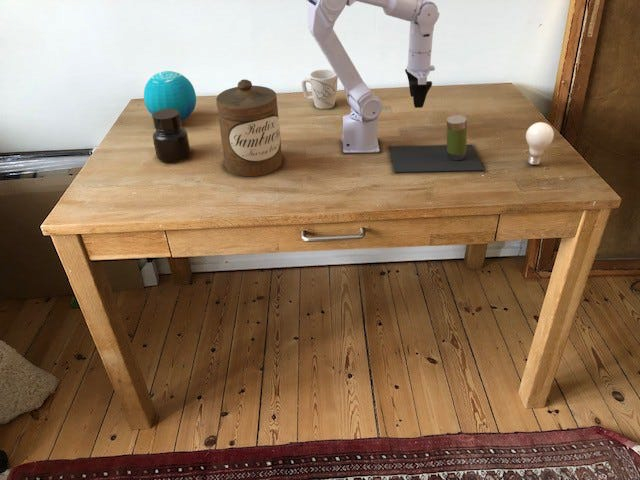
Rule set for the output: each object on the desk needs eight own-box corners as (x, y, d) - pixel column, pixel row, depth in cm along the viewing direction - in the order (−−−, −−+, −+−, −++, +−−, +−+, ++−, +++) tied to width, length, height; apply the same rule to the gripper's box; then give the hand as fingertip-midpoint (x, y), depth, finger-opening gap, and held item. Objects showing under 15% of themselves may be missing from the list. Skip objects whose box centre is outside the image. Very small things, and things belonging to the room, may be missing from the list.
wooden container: (240, 182, 134) (228, 96, 121) (216, 159, 144) (203, 77, 131) (292, 166, 140) (287, 82, 127) (266, 145, 150) (258, 65, 137)
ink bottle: (180, 145, 152) (172, 103, 145) (198, 154, 147) (191, 112, 140) (149, 157, 147) (139, 114, 140) (167, 167, 141) (158, 124, 134)
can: (448, 161, 139) (448, 124, 133) (445, 152, 143) (444, 116, 137) (468, 159, 138) (468, 121, 132) (464, 150, 142) (464, 113, 136)
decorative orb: (176, 135, 157) (166, 84, 148) (138, 126, 163) (127, 76, 155) (210, 116, 168) (202, 68, 159) (173, 108, 174) (163, 61, 165)
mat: (395, 173, 136) (395, 171, 135) (389, 147, 147) (389, 146, 147) (484, 171, 135) (484, 169, 135) (471, 145, 147) (471, 144, 146)
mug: (298, 108, 171) (296, 77, 165) (307, 98, 177) (305, 68, 171) (333, 111, 168) (333, 79, 162) (341, 101, 174) (340, 70, 168)
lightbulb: (533, 172, 134) (542, 131, 127) (514, 162, 138) (522, 121, 132) (552, 166, 136) (562, 125, 130) (533, 156, 141) (542, 116, 134)
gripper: (440, 58, 132) (436, 111, 140) (431, 40, 143) (427, 90, 151) (411, 59, 132) (408, 112, 140) (404, 41, 144) (401, 91, 152)
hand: (416, 101), depth 146 cm, fingers open, 7 cm apart
